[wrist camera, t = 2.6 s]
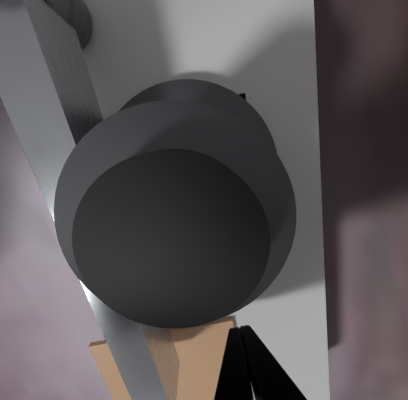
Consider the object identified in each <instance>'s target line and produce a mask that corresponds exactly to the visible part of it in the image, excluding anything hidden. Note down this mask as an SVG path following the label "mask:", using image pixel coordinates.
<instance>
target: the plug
mask: <svg viewBox="0 0 408 400" xmlns="http://www.w3.org/2000/svg"><path fill="white" fill-rule="evenodd" d="M54 221H55V228H56V233H57V237H58V241H59V244H60V246H61V249H62V252H63V254H64V256H65V258H66V260H67V262H68V264H69V266H70V267H71V269H72V270H73V272H74V273H75V274H76V276H77V277H78V279H79V280H80V281H81V282H82V283H83V284H84V285H85V286H86V288H87V289H88V290H90V291H91V292H92V293H93V294H94V295H95V296H96V297H97V298H99V299H100V300H101V301H102V302H103V303H104V304H105V305H106V306H108V307H109V308H111V309H112V310H114V311H115V312H116V313H118V314H120V315H122V316H124V317H126V318H128V319H130V320H133V321H135V322H138V323H141V324H144V325H148V326H153V327H158V328H169V329H176V328H189V327H195V326H199V325H204V324H207V323H210V322H212V321H215V320H217V319H220V318H223V317H226V316H228V315H230V314H232V313H234V312H236V311H239V310H240V309H242V308H243V307H245V306H247V305H248V304H250V303H251V302H252V301H254V300H255V299H256V298H257V297H259V296H260V295H261V294H262V293H263V292H264V291H265V290H266V289H267V288H268V287H269V286H270V285H271V284H272V282H273V281H274V280H275V278H276V277H277V276H278V275H279V273H280V271H281V269H282V268H283V266H284V264H285V263H286V260H287V258H288V255H289V253H290V251H291V248H292V244H293V240H294V237H295V229H296V202H295V196H294V191H293V187H292V184H291V181H290V178H289V175H288V173H287V171H286V169H285V167H284V165H283V163H282V161H281V160H280V158H279V156H278V155H277V151H276V147H275V144H274V140H273V137H272V135H271V133H270V131H269V129H268V127H267V125H266V123H265V122H264V120H263V119H262V117H261V116H260V115H259V113H258V112H257V111H256V110H255V109H254V108H253V106H251V105H250V104H249V103H248V102H247V101H246V100H245V99H244V98H242V97H241V96H239V95H238V94H236V93H235V92H233V91H231V90H229V89H227V88H225V87H223V86H221V85H218V84H215V83H212V82H208V81H203V80H196V79H178V80H171V81H166V82H163V83H159V84H156V85H154V86H151V87H149V88H147V89H145V90H143V91H142V92H140V93H139V94H137V95H135V96H134V97H132V98H131V99H130V100H129V101H128V102H127V103H126V104H125V105H124V106H123V107H122V108H121V109H120V110H119V111H118V112H117V113H115V114H113V115H111V116H109V117H108V118H106V119H105V120H103V121H102V122H100V123H99V124H97V125H96V126H95V127H93V128H92V129H91V130H90V131H89V132H88V133H87V134H86V135H85V136H83V138H82V139H81V140H80V141H79V143H78V144H77V145H76V146H75V147H74V149H73V150H72V152H71V153H70V155H69V157H68V158H67V160H66V162H65V164H64V166H63V168H62V171H61V174H60V176H59V179H58V183H57V187H56V191H55V199H54Z"/></svg>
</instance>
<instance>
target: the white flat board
mask: <svg viewBox="0 0 408 400" xmlns="http://www.w3.org/2000/svg"><path fill="white" fill-rule="evenodd" d="M84 2H85V3H86V5H87V7H88V9H89V12H90V15H91V19H92V34H91V38H90V41H89V43H88V44H87V46H86V47H85V48H84V49H83V50H82V52H83V55H84V58H85V61H86V64H87V68H88V71H89V74H90V77H91V80H92V84H93V87H94V90H95V93H96V96H97V99H98V103H99V106H100V109H101V112H102V115H103V119H104V120H105V119H106V118H108V117H109V116H111V115H113V114H115V113H117V112H118V111H119V110H120V109H121V108H122V107H123V106H124V105H125V104H126V103H127V102H128V101H129V100H130V99H131V98H132V97H134V96H135V95H137V94H139V93H140V92H142V91H143V90H145V89H147V88H149V87H151V86H154V85H156V84H159V83H163V82H166V81H171V80H178V79H196V80H203V81H208V82H212V83H215V84H218V85H221V86H223V87H225V88H227V89H229V90H231V91H233V92H235V93H236V94H238V95H239V96H241V97H242V98H244V99H245V100H246V101H247V102H248V103H249V104H250V105H251V106H253V108H254V109H255V110H256V111H257V112H258V113H259V115H260V116H261V117H262V119H263V120H264V122H265V123H266V125H267V127H268V129H269V131H270V133H271V135H272V137H273V140H274V144H275V147H276V151H277V155H278V156H279V158H280V160H281V161H282V163H283V165H284V167H285V169H286V171H287V173H288V175H289V178H290V181H291V184H292V187H293V191H294V196H295V202H296V229H295V237H294V240H293V244H292V248H291V251H290V253H289V255H288V258H287V260H286V263H285V264H284V266H283V268H282V269H281V271H280V273H279V275H278V276H277V277H276V278H275V280H274V281H273V282H272V284H271V285H270V286H269V287H268V288H267V289H266V290H265V291H264V292H263V293H262V294H261V295H260V296H259V297H257V298H256V299H255V300H254V301H252V302H251V303H250V304H248V305H247V306H245V307H243V308H242V309H240V310H239V311H236V312H234V313H232V314H230V315H228V316H226V317H223V318H220V319H217V320H215V321H212V322H210V323H207V324H204V325H199V326H195V327H189V328H176V329H170V332H171V335H172V339H173V342H174V345H175V348H176V351H177V354H178V358H179V361H180V364H179V376H178V388H177V399H176V400H214V396H215V392H216V387H217V383H218V378H219V373H220V369H221V364H222V359H223V355H224V350H225V346H226V341H227V336H228V332H229V329H230V328H233V327H239V328H240V326H244V325H250V326H251V327H252V329H253V330H254V331H255V333H256V334H257V335H258V337H259V338H260V339H261V340H262V342H263V343H264V344H265V346H266V347H267V348H268V349H269V351H270V352H271V353H272V355H273V356H274V357H275V358H276V360H277V361H278V362H279V364H280V365H281V366H282V368H283V369H284V370H285V371H286V373H287V374H288V375H289V377H290V378H291V379H292V380H293V382H294V383H295V384H296V386H297V387H298V388H299V389H300V391H301V392H302V393H303V395H304V396H305V397H306V399H307V400H330V394H329V369H328V344H327V319H326V294H325V269H324V244H323V219H322V194H321V169H320V144H319V119H318V94H317V69H316V44H315V19H314V0H84ZM89 349H90V351H91V353H92V355H93V357H94V359H95V362H96V364H97V366H98V368H99V370H100V372H101V374H102V376H103V379H104V381H105V383H106V385H107V387H108V389H109V391H110V394H111V396H112V398H113V400H131V397H130V395H129V393H128V391H127V388H126V386H125V384H124V381H123V379H122V377H121V374H120V372H119V370H118V367H117V365H116V363H115V361H114V358H113V356H112V354H111V351H110V349H109V347H108V344H107V342H106V340H103V341H98V342H92V343H90V345H89ZM252 391H253V389H252ZM253 396H254V393H253ZM254 400H255V397H254Z"/></svg>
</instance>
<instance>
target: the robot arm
mask: <svg viewBox="0 0 408 400" xmlns="http://www.w3.org/2000/svg"><path fill="white" fill-rule="evenodd" d="M252 389H253V391H252ZM253 393H254V396H253ZM254 397H255V400H307V399H306V397H305V396H304V395H303V393H302V392H301V391H300V389H299V388H298V387H297V386H296V384H295V383H294V382H293V380H292V379H291V378H290V377H289V375H288V374H287V373H286V371H285V370H284V369H283V368H282V366H281V365H280V364H279V362H278V361H277V360H276V358H275V357H274V356H273V355H272V353H271V352H270V351H269V349H268V348H267V347H266V346H265V344H264V343H263V342H262V340H261V339H260V338H259V337H258V335H257V334H256V333H255V331H254V330H253V329H252V327H251V326H250V325H244V326H240V328H239V327H233V328H230V329H229V332H228V336H227V341H226V346H225V350H224V355H223V359H222V364H221V369H220V373H219V378H218V383H217V387H216V392H215V396H214V400H254Z"/></svg>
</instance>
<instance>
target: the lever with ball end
mask: <svg viewBox="0 0 408 400" xmlns="http://www.w3.org/2000/svg"><path fill="white" fill-rule="evenodd" d="M91 34H92V19H91V15H90V12H89V9H88V7H87V5H86V3H85V2H84V0H0V97H1V100H2V102H3V104H4V107H5V109H6V111H7V114H8V116H9V118H10V120H11V123H12V125H13V127H14V130H15V132H16V134H17V137H18V139H19V141H20V144H21V146H22V148H23V150H24V153H25V155H26V157H27V160H28V162H29V164H30V167H31V169H32V171H33V174H34V176H35V178H36V180H37V183H38V185H39V187H40V190H41V192H42V194H43V197H44V199H45V201H46V204H47V206H48V208H49V210H50V213H51V215H52V217H53V220H54V199H55V191H56V187H57V183H58V179H59V176H60V174H61V171H62V168H63V166H64V164H65V162H66V160H67V158H68V157H69V155H70V153H71V152H72V150H73V149H74V147H75V146H76V145H77V144H78V143H79V141H80V140H81V139H82V138H83V136H85V135H86V134H87V133H88V132H89V131H90V130H91V129H92V128H93V127H95V126H96V125H97V124H99V123H100V122H102V121H103V120H104V119H103V115H102V112H101V109H100V106H99V103H98V99H97V96H96V93H95V90H94V87H93V84H92V80H91V77H90V74H89V71H88V68H87V64H86V61H85V58H84V55H83V52H82V50H83V49H84V48H85V47H86V46H87V44H88V43H89V41H90V38H91ZM54 222H55V221H54ZM80 282H81V281H80ZM81 284H82V287H83V289H84V291H85V294H86V296H87V298H88V300H89V303H90V305H91V307H92V310H93V312H94V314H95V317H96V319H97V321H98V324H99V326H100V328H101V331H102V333H103V335H104V337H105V340H106V342H107V344H108V347H109V349H110V351H111V354H112V356H113V358H114V361H115V363H116V365H117V367H118V370H119V372H120V374H121V377H122V379H123V381H124V384H125V386H126V388H127V391H128V393H129V395H130V397H131V400H176V399H177V388H178V376H179V364H180V361H179V358H178V354H177V351H176V348H175V345H174V342H173V339H172V335H171V332H170V329H169V328H158V327H153V326H148V325H144V324H141V323H138V322H135V321H133V320H130V319H128V318H126V317H124V316H122V315H120V314H118V313H116V312H115V311H114V310H112V309H111V308H109V307H108V306H106V305H105V304H104V303H103V302H102V301H101V300H100V299H99V298H97V297H96V296H95V295H94V294H93V293H92V292H91V291H90V290H88V289H87V288H86V286H85V285H84V284H83V283H82V282H81Z"/></svg>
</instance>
